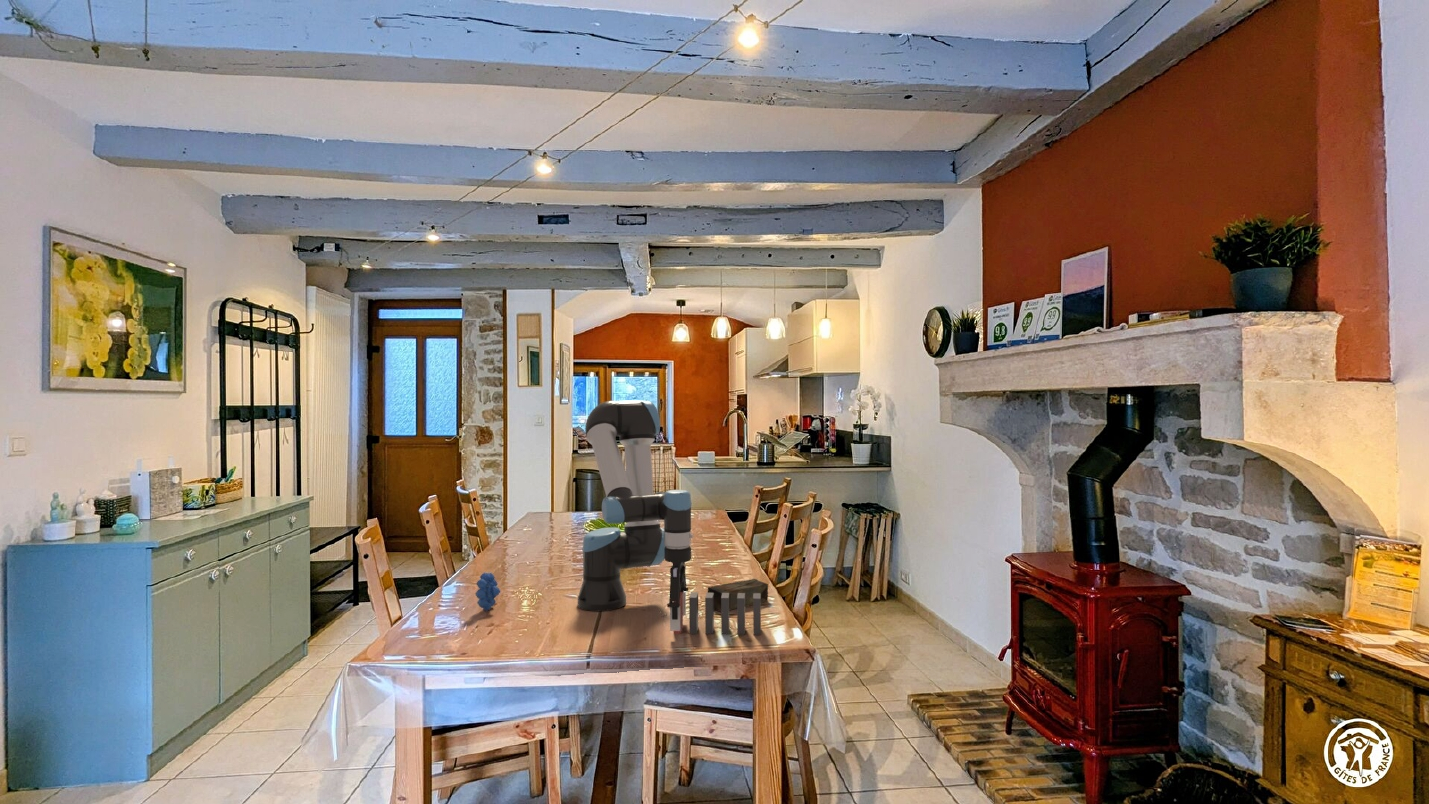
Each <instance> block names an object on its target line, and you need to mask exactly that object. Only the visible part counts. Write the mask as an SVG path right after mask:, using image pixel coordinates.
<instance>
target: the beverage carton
mask: <svg viewBox="0 0 1429 804" xmlns="http://www.w3.org/2000/svg"><path fill="white" fill-rule="evenodd" d="M707 593H714V611H715V610H716V611H718V612H720V613H721V596H722V593H729V611H731V610H737V595H738V593H745V607H750V606H753V593H761V604H762V603H766V602H768V599H769V584H768V583H766V582H763V581H761V580H758V579H757V578H751V579H746V580H740V581H735V582H728V583H723V584H718V585H713V586H708V587H707Z"/></svg>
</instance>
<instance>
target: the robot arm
mask: <svg viewBox="0 0 1429 804" xmlns="http://www.w3.org/2000/svg"><path fill="white" fill-rule="evenodd" d="M660 427H661V419H660V415H659V411H658V409H657V407H656V405H655V403H654V402H651V401H650V400H649V401H648V400H639V399H638V400H607V401H604V402H600V403H599V404H598V405H596V406H595V407H594V408H593V409H592V410H591V411H590V413H589V414H588V417H587V419H586V422H585V428H584V429H585V430H584V432H585V436H586V440H587V442H588V443H589V444H590V445H591V446H592V450H593V453H594V457H595V460H596V465H597V467H598V471H599V475H600V479H601V482H602V486H603V489H604V493H605V497H604V498H603V499H602V503H601V515H602V519H603V521H604V522H605V523H606V524H620V525H621V524H623V523H624V526H623V528H624V529H623V530H624V531H621V529H620V528H619V527H614V526H611V527H602V528H598V529H593V530H590V531H589V532H587V533H586V534H585V535H584V536H583V540H582V548H581V549H582V584H581V586H580V590H579V592H578V596H577V608H579V609H581V610H584V611H591V612H605V611H612V610H617V609H621V608H622V607H623V606H625V605H626V604H627V595H626V592H625V588H624V585H623V583H622V580H621V570H625V569H635V568H644V567H645V568H646V567H647V568H650V567H652V566H659V565H660V564H662V563H663V561H664V560H665V561H666V562H667V563H672V565H671V567H670V569H669V573H670V578H669V582H670V583H669V599H668V601H669V602H668V603H667V604H666V607H667V608H669V631H671V632H674V631H680V592H683V616H686V615H687V612H686V610H687V609H686V608H687V606H686V605H687V600H686V599H687V598H686V597H687V594H686V593H687V592H689V587H687V586H688V585H687V577H686V570H687V569H686V567H687V566H686V563H687V562H690V561H691V560H692V547H691V544H692V539H693V538H694V534H692V498H691V497H692V496H691V492H690V491H689V490H685V489H671V490H670V489H669V490H666V491H657V492H655V493H654V484H653V483H654V482H653V479H654V478H653V465H652V449H651V448H652V447H651V446H652V444H653V443H654V442H655V437H656V436H658V435H659V433H660V429H661V428H660ZM616 437H619V443H620V444H621V445H622V446H623V447H624V458H625V459H624V460H625V461H624V462H625V465H624V462H623V458H622V454H621V451H620V449H619V445H618V443H617V439H616ZM660 521H663V525H664V526H663V528H662V527H661V523H660ZM673 601H676V602H673Z"/></svg>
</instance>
